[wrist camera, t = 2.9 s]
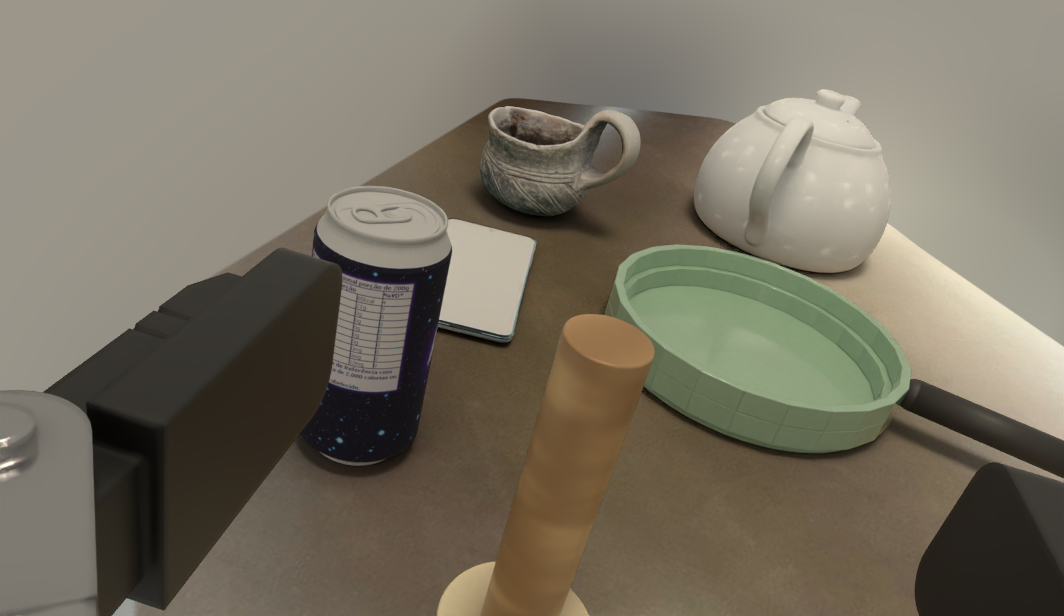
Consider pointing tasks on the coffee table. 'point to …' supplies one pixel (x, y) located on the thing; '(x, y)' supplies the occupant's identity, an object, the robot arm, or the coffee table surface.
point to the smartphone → (485, 280)
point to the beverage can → (379, 319)
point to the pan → (760, 349)
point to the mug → (549, 158)
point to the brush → (561, 474)
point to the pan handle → (986, 426)
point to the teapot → (798, 185)
